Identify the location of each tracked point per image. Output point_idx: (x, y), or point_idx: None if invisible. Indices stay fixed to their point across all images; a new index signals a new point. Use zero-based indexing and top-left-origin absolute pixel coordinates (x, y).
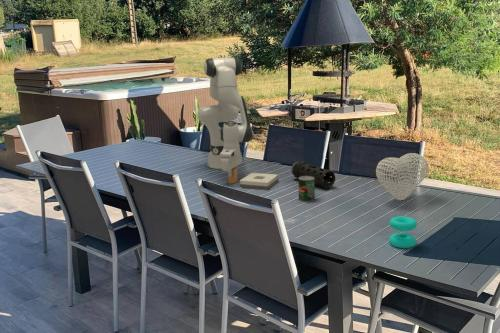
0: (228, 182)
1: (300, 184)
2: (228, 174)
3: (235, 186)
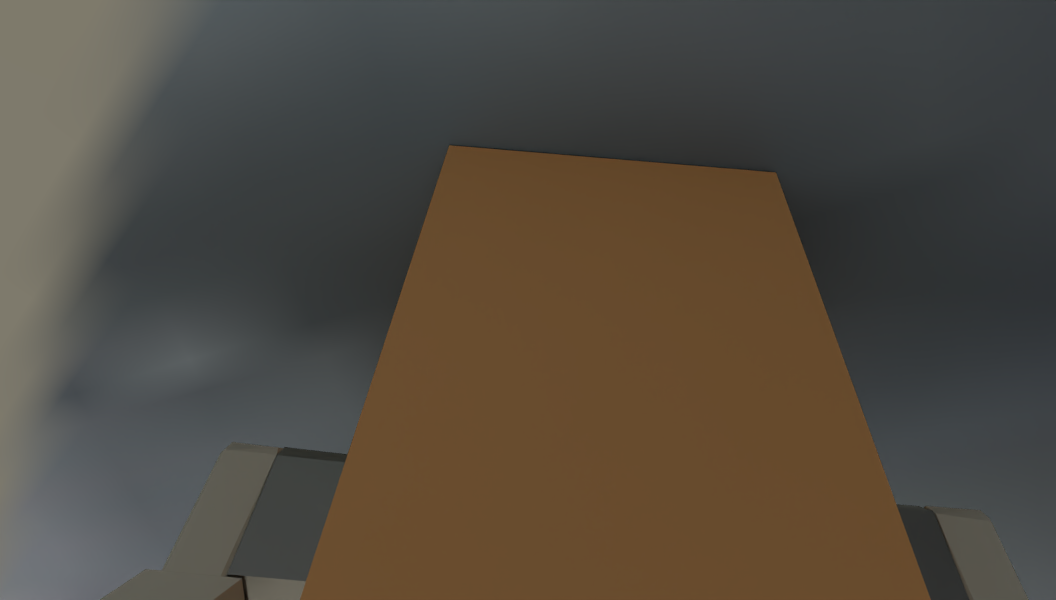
0: (445, 169)
1: None
2: (366, 433)
3: (132, 501)
